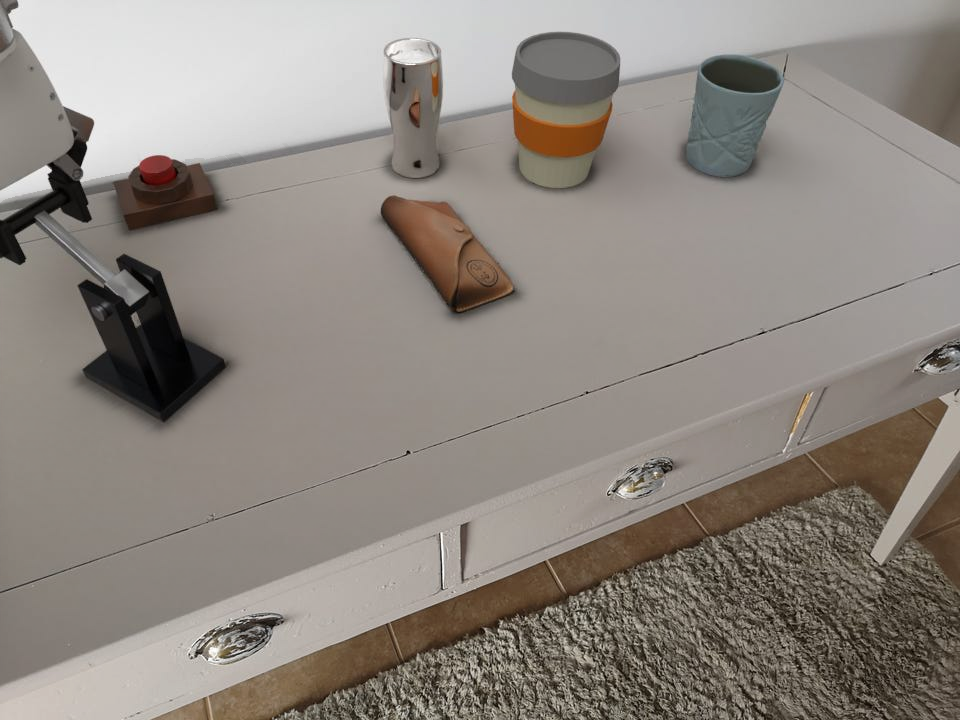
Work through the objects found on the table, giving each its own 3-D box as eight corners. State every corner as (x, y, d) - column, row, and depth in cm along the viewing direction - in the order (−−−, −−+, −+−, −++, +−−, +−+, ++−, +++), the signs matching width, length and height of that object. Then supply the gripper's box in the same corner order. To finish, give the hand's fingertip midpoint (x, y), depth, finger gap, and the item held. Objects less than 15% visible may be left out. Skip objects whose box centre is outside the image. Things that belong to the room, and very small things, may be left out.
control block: (129, 230, 88) (118, 201, 85) (118, 197, 92) (107, 168, 89) (217, 209, 91) (210, 180, 88) (203, 178, 95) (196, 149, 92)
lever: (-3, 232, 64) (-4, 216, 63) (57, 196, 68) (58, 181, 66) (109, 332, 66) (111, 319, 64) (162, 291, 69) (166, 279, 67)
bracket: (85, 377, 73) (38, 283, 64) (150, 327, 78) (114, 232, 69) (163, 422, 70) (124, 329, 61) (226, 366, 74) (198, 273, 66)
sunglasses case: (521, 287, 83) (497, 255, 77) (471, 329, 83) (443, 300, 78) (443, 198, 93) (417, 164, 88) (399, 236, 94) (370, 204, 88)
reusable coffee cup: (552, 209, 94) (567, 93, 83) (485, 162, 100) (490, 49, 89) (623, 173, 99) (645, 60, 88) (555, 131, 106) (568, 21, 95)
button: (146, 189, 87) (142, 175, 86) (140, 172, 89) (136, 159, 88) (179, 181, 88) (175, 168, 87) (172, 165, 91) (168, 152, 89)
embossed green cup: (768, 177, 100) (799, 90, 91) (695, 184, 98) (720, 96, 90) (734, 135, 107) (760, 50, 98) (665, 141, 105) (686, 56, 96)
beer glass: (453, 170, 98) (454, 55, 87) (405, 186, 96) (401, 70, 85) (424, 144, 102) (422, 31, 91) (378, 159, 99) (370, 45, 88)
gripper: (20, -22, 61) (95, 175, 74) (-210, 64, 50) (-75, 276, 63) (88, 2, 58) (153, 201, 71) (-140, 98, 48) (-14, 310, 61)
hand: (45, 235), depth 67 cm, fingers closed on lever, 6 cm apart
